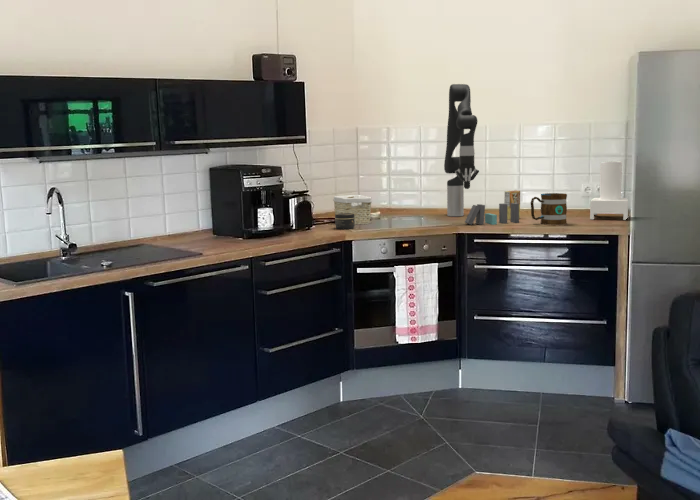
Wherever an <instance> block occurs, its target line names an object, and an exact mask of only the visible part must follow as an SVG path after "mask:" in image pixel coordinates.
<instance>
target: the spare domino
mask: <svg viewBox="0 0 700 500" xmlns="http://www.w3.org/2000/svg"><path fill="white" fill-rule="evenodd" d="M497 220H498V217H497V214H495V213H490V212H489V213H484V224H489V225H492V226H494V225H495V226H496V225H497V223H498V221H497Z"/></svg>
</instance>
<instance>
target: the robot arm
mask: <svg viewBox="0 0 700 500" xmlns="http://www.w3.org/2000/svg"><path fill="white" fill-rule="evenodd" d="M471 98H472V97H471V87H470V86H469V84H465V83H463V84H462V83H457V84H455V83H452V84H451V85H450V86H449V91H448V119H447V126H446V127H447V129H446V146H445V147H446V148H445V155H444V165H443V166H444V167H443V168H444V173H446V174H455V175H456V176H455V177H453V178H450V179H448V180H447V182H446V188H447V189H446V191H447V194H446V200H447V201H446V207H447V208H446V213H447V214H446V215H447V217H463V216H464V215H465V213H464V211H465V209H464V207H465V206H464V205H465V204H464V200H465V199H464V198H465V197H464V193H465V192H464V189H465V190H469V189H470V188H471V181H473V180H474V179H475V178H476V177H477V175H478V174H479V173H480V170H478V169H477V168H476V166H475V154H476V153H475V134H476V133H475V132H476V129H477V126H478V117H477V116H476V115H473V113H472V108H471V102H472V101H471ZM456 102H457V103H458V102H459V104H458V105H457V108H456ZM465 130H469V132H467V133H465ZM458 145H459V156H453V154H454V151H455V149H456V148H457V146H458Z"/></svg>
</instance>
